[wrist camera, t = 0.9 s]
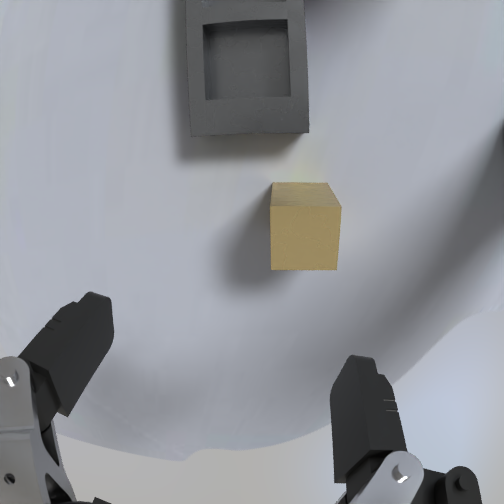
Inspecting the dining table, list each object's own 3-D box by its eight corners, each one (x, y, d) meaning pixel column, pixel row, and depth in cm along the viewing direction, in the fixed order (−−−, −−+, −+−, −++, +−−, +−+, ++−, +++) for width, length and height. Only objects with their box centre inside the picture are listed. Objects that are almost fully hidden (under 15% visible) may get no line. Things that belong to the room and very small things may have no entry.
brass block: (327, 182, 27) (341, 206, 20) (325, 233, 29) (336, 270, 22) (272, 182, 27) (269, 206, 21) (273, 233, 29) (271, 269, 23)
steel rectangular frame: (294, -65, 16) (295, -80, 14) (306, 130, 25) (309, 133, 22) (195, -58, 17) (186, -71, 14) (200, 133, 26) (191, 136, 23)
